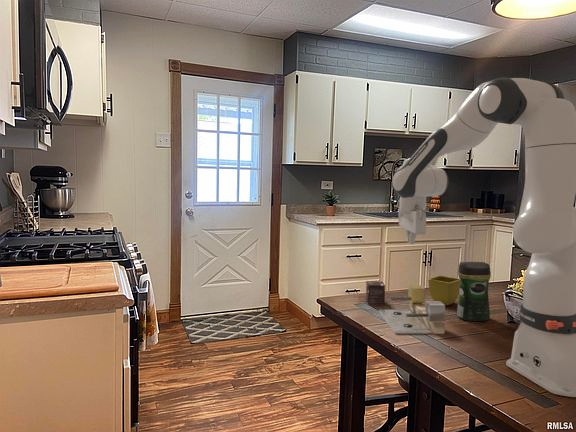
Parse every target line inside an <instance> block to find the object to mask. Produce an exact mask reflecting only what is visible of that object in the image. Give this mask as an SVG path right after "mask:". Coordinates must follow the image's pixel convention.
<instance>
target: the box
mask: <svg viewBox="0 0 576 432" xmlns="http://www.w3.org/2000/svg"><path fill="white" fill-rule="evenodd" d="M365 286H366V287H365V289H366V291H365V301H366V303H367V305H369V306H370V305H371V306H372V305H373V306H374V305H377V306H380V305H382V306H384V305H385V302H386V299H385V297H386V285H385V283H384V282H383V281H382V280H379V281H377V280H375V281H374V280H370V281H369V280H366V282H365Z"/></svg>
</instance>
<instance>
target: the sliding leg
mask: <svg viewBox="0 0 576 432" xmlns="http://www.w3.org/2000/svg"><path fill="white" fill-rule="evenodd" d="M407 292H408V294H407V296H391V301H409V302H411V303H422V304H426V301H425V300H426V298H425V297H426V288H425V287H424V286H423V285H408V291H407Z"/></svg>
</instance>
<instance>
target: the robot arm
mask: <svg viewBox="0 0 576 432" xmlns="http://www.w3.org/2000/svg"><path fill="white" fill-rule="evenodd" d="M498 124H507V125H519V126H521V127H522V129H523V130H524V131H523V132H524V153H525V154H524V162H525V163H524V167H525V168H524V169H525V170H524V171H525V172H524V175H525V178H524V186H523V187H524V188H523V192H522V193H523V194H522V197H521V202H520V207H519V212H518V213H519V214H518V216H517V218H516V220H515V222H514V224H513V226H512V237H513V239H514V242H515V243H516V245H517V246H518V247H519V248H520V249H522V250H523V251H525V252H527V253H528V254H529V253H530V254H531V256H530V261H529V262H528V263H529V264H528V266H527V268H526V270H525V272H524V274H523V275H524V276H523V289H522V290H523V293H522V295H523V296H522V304H521V305H520V310H519V320H520V321H521V322H520V323H519V326H518V327H517V329H516V330H515V332H514V335H513V342H512V349H511V356H510V358H508V359H507V360H506V363H505V364H506V366H507V367H508V368H510V369H512V370H513V371H515V372H516V373H518V374H520V375H521V376H523V377H525V378H527V380H530V381H531V382H532V383H535V384H537V385H538V386H539V387H541V388H543V389H544V390H546V391H547V392H550V393H551V394H554V395H559V396H563V397H564V396H565V397H570V398H576V207H575V206H574V205H575V198H576V108H575V106H574V104H573V102H571V101H570V100H567V99H565V94H564V92H563V91H562V89H561V88H560V87H559V86H557V85H556V84H554V83H551V82H549V81H540V80H537V79H536V80H534V79H531V78H526V77H524V78H523V77H512V78H511V77H500V78H495V79H492V80H489V81H485V82H483V83H481V84H479V85H478V86H477V87H476V88H475V89H474V90H473V91H472V92H470V94H469V95H467V97H466V98H465V100H464V101H463V103H462V104H461V105H460V107H459V108H458V109H457V111H456V112H455V114H453V115H452V116H451V118H450V119H448V121H447V122H446V123H444V124H443V125H442V126H440V127H439V128H438V129H436V130H434V131H433V132H432V133H431V134H430V135H429V136H428V137H427V138H426V139H425V141H424V142H422V144H421V145H420V146H419V147H418V149H416V151H414V153H413V154H412V155H411V157H409V158H406V159H405V160H403V162H402V165H401V166H399V167H398V169H396V171H395V172H394V173H393V176H392V178H391V186H392V189H393V191H394V192H395V193H396V194H397V195H398V196H399V200H398V201H397V205H396V206H397V208H398V213H397V214H398V226H399V228H402V229H404V230H406V232H405V233H406V237H407V240H406V241H407V243H408V244H410V245H414V244H416V242H415V241H416V238H417V235H425V234H426V231H427V214H426V212H425V210H426V208H427V198H428V197H438V196H442V195H443V194H444V193H445V192H447V190H448V186H449V176H448V174H447V171H445V169H443V168H441V167H438V166H435V165H433V162H435V161H436V160H437V159H439V158H441V157H443V156H445V155H448V154H451V153H455V152H460V151H465V150H470V149H474V148H476V147H477V146H479V145H481V143H483V142H484V141H485V140H486V139H487V138H488V136H489V135H490V134H491V133H492V131H493V130H494V129H495V128H496V126H497V125H498Z"/></svg>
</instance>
